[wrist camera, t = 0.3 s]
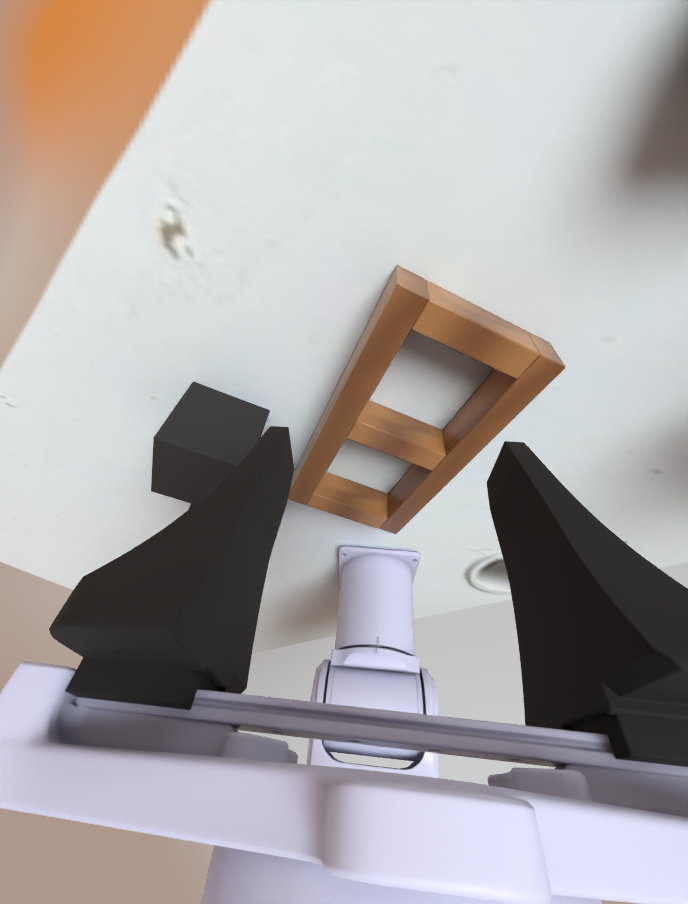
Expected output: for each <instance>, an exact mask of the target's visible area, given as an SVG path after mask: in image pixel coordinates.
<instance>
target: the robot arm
mask: <svg viewBox="0 0 688 904" xmlns="http://www.w3.org/2000/svg"><path fill="white" fill-rule="evenodd" d="M293 471H294V465H293V458H292V450H291V443H290V436H289V428H288V427H274V426H271V427H270V428H268V429H267V431H266V432H265V433H264V434H263V436H262V437H261V438H260V439H259V440H258V442H257V443H256V444H255V445H254V446H253V448H252V449H251V450H250V451H249V452H248V453H247V454H246V456H245V457H244V458H243V459H242V460H241V461H240V462H239V463H238V464H237V465H236V467H235V468H234V469H233V470H232V471H231V472H230V473H229V474H228V475H227V476H226V477H225V478H224V479H223V480H222V481H221V482H220V483H219V484H218V485H217V486H216V487H215V488H214V489H213V490H211V491H210V492H209V493H208V494H207V495H206V496H205V497H204V498H203V499H201V500H200V501H199V502H198V503H197V504H195V505H194V506H193V507H192V508H191V509H189V510H188V511H187V512H186V513H184V514H183V515H182V516H180V517H179V518H178V519H176V520H175V521H174V522H172V523H171V524H170V525H168V526H167V527H166V528H164V529H163V530H161V531H160V532H158V533H157V534H155V535H154V536H152V537H151V538H149V539H148V540H146V541H145V542H143V543H142V544H140V545H138V546H137V547H135V548H134V549H132V550H130V551H129V552H127V553H125V554H124V555H122V556H120V557H118V558H117V559H115V560H113V561H111V562H109V563H108V564H106V565H104V566H102V567H100V568H99V569H97V570H95V571H93V572H91V573H89V574H87V575H86V576H84V577H83V578H82V579H81V580H80V582H79V583H78V585H77V586H76V587H75V589H74V590H73V592H72V593H71V595H70V597H69V598H68V600H67V601H66V603H65V604H64V606H63V607H62V609H61V611H60V612H59V614H58V615H57V617H56V618H55V620H54V622H53V623H52V625H51V627H50V628H49V630H50V633H51V635H52V637H53V638H54V639H56V640H57V641H58V642H60V643H61V644H63V645H65V646H66V647H68V648H69V649H71V650H73V651H74V652H76V653H78V654H79V655H81V656H82V657H84V658H83V659H82V661H81V663H80V665H79V667H78V669H77V670H76V669H74V668H70V667H65V666H60V665H51V664H41V663H32V662H23V663H20V664H19V665H18V667H17V668H16V670H15V671H14V673H13V675H12V676H11V678H10V679H9V680H8V682H7V683H6V685H5V686H4V688H3V689H2V691H1V692H0V808H3V809H9V810H15V811H21V812H27V813H33V814H39V815H45V816H51V817H57V818H62V819H68V820H73V821H79V822H85V823H90V824H96V825H102V826H108V827H113V828H119V829H125V830H130V831H136V832H142V833H148V834H153V835H159V836H165V837H171V838H176V839H182V840H188V841H194V842H199V843H205V844H211V845H214V849H213V853H212V857H211V861H210V865H209V870H208V874H207V878H206V883H205V887H204V891H203V895H202V900H201V904H602V902H601V900H609V901H620V902H630V903H640V904H688V589H687V588H686V587H684V586H683V585H681V584H680V583H678V582H677V581H675V580H674V579H672V578H671V577H669V576H668V575H667V574H665V573H664V572H663V571H661V570H660V569H658V568H657V567H656V566H654V565H653V564H652V563H650V562H649V561H648V560H646V559H645V558H644V557H642V556H641V555H640V554H638V553H637V552H636V551H634V550H633V549H632V548H631V547H629V546H628V545H627V544H626V543H624V542H623V541H622V540H621V539H620V538H619V537H617V536H616V535H615V534H614V533H613V532H611V531H610V530H609V529H608V528H607V527H605V526H604V525H603V524H602V523H601V522H600V521H599V520H598V519H597V518H596V517H594V516H593V515H592V514H591V513H590V512H589V511H588V510H587V509H586V508H585V507H584V506H583V505H582V504H581V503H580V502H579V501H578V500H577V499H576V498H575V497H574V496H573V495H572V494H571V493H570V492H569V491H568V490H567V489H566V488H565V487H564V486H563V485H562V484H561V483H560V482H559V480H558V479H557V478H556V477H555V476H554V475H553V474H552V473H551V472H550V471H549V470H548V468H547V467H546V466H545V465H544V464H543V463H542V462H541V461H540V460H539V458H538V457H537V456H536V455H535V454H534V453H533V452H532V451H531V450H530V448H529V447H528V446H527V445H526V444H525V443H522V442H507V441H505V442H504V444H503V447H502V449H501V451H500V454H499V456H498V458H497V460H496V463H495V465H494V467H493V470H492V472H491V474H490V476H489V479H488V481H487V488H488V497H489V504H490V511H491V514H492V518H493V522H494V526H495V529H496V533H497V537H498V540H499V544H500V548H501V551H502V555H503V558H504V562H505V566H506V569H507V573H508V578H509V582H510V588H511V594H512V600H513V606H514V613H515V620H516V628H517V635H518V643H519V651H520V661H521V670H522V683H523V694H524V707H525V725H526V726H524V725H515V724H506V723H497V722H488V721H479V720H470V719H461V718H452V717H443V716H439V712H438V701H437V693H436V687H435V683H434V679H433V678H432V676H431V675H430V674H429V673H428V670H427V669H425V668H419V657H417V656H415V639H414V617H413V596H412V583H413V580H414V577H415V573H416V570H417V566H418V563H419V560H420V554H419V553H418V552H410V551H398V550H385V549H373V548H360V547H348V546H341V547H340V548H339V589H340V601H339V612H338V622H337V632H336V642H335V649H333V650H332V653H331V661H330V660H327V659H325V660H323V662H322V663H321V664H320V665H319V666H318V667H317V669H316V673H315V677H314V682H313V689H312V695H311V702H308V701H299V700H290V699H281V698H272V697H263V696H254V695H245V694H241V693H242V692H243V691H244V690H245V689H246V687H247V681H248V674H249V667H250V661H251V655H252V648H253V642H254V636H255V631H256V625H257V619H258V613H259V608H260V603H261V598H262V592H263V587H264V582H265V578H266V573H267V568H268V563H269V559H270V555H271V552H272V548H273V545H274V542H275V539H276V535H277V532H278V529H279V526H280V523H281V520H282V516H283V513H284V510H285V507H286V504H287V500H288V497H289V493H290V488H291V483H292V477H293ZM237 730H244V731H252V732H260V733H269V734H278V735H286V736H294V737H303V738H309V745H308V755H307V765H305V764H297V759H298V755H297V754H296V752H293V751H291V750H289V749H288V744H287V742H285V741H281V740H276V739H271V738H266V737H261V736H257V735H252V734H247V733H239V732H238V731H237ZM330 752H338V753H346V754H355V755H365V756H373V757H382V758H390V759H399V760H408V761H414V762H413V763H412V764H411V765H410V766H409V767H406V768H401V769H396V768H387V767H378V766H370V765H361V764H353V763H344V762H341V761H339V760H337V759H335V758H334V757H333V756H332V754H331V753H330ZM438 753H440V754H448V755H456V756H465V757H474V758H482V759H490V760H499V761H507V762H516V763H525V764H534V765H542V766H550V767H556V768H555V769H539V768H538V769H537V768H512V770H511V772H507V773H504V774H497V775H490V776H489V777H488V784H489V785H482V784H476V783H469V782H462V781H454V780H448V779H440V778H439V771H438Z"/></svg>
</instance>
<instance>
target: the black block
mask: <svg viewBox="0 0 688 904" xmlns="http://www.w3.org/2000/svg"><path fill="white" fill-rule="evenodd" d="M268 414H269V410H267V409H264V408H262V407H259V406H256V405H254V404H251V403H248V402H246V401H243V400H240V399H238V398H235V397H233V396H230V395H227V394H225V393H222V392H219V391H217V390H214V389H211V388H209V387H206V386H203V385H201V384H198V383H195V382H193V383H192V384H191V385H190V387H189V388H188V390H187V391H186V393H185V394H184V395H183V397H182V398H181V400H180V401H179V402H178V404H177V405H176V407H175V408H174V410H173V411H172V412H171V414H170V415H169V417H168V418H167V420H166V421H165V422H164V424H163V425H162V427H161V428H160V430H159V431H158V432H157V434H156V435H155V437H154V443H153V464H152V485H151V491H153V492H156V493H159V494H162V495H166V496H169V497H172V498H176V499H179V500H182V501H185V502H189V503H192V504H197V503H198V502H199V501H200V500H201V499H203V498H204V497H205V496H206V495H207V494H208V493H209V492H210V491H211V490H213V489H214V488H215V487H216V486H217V485H218V484H219V483H220V482H221V481H222V480H223V479H224V478H225V477H226V476H227V475H228V474H229V473H230V472H231V471H232V470H233V469H234V468H235V467H236V465H237V464H238V463H239V462H240V461H241V460H242V459H243V458H244V457H245V456H246V454H247V453H248V452H249V451H250V450H251V449H252V448H253V446H254V445H255V444H256V443H257V442H258V440H259V439H260V437H261V434H262V431H263V428H264V425H265V423H266V420H267V417H268Z"/></svg>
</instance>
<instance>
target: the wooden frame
mask: <svg viewBox="0 0 688 904" xmlns="http://www.w3.org/2000/svg"><path fill="white" fill-rule="evenodd" d="M411 329H412V330H413V331H415V332H418V333H420V334H422V335H424V336H426V337H428V338H430V339H432V340H435V341H437V342H439V343H441V344H443V345H445V346H447V347H450V348H452V349H454V350H456V351H458V352H460V353H462V354H464V355H467V356H469V357H471V358H473V359H475V360H477V361H479V362H482V363H484V364H486V365H488V366H490V367H492V368H494V369H495V370H494V371H493V372H492V373H491V374H490V375H489V377H488V378H487V379H486V380H485V381H484V383H483V384H482V385H481V386H480V387H479V388H478V390H477V391H476V392H475V393H474V394H473V395H472V397H471V398H470V399H469V400H468V401H467V402H466V404H465V405H464V406H463V407H462V408H461V409H460V411H459V412H458V413H457V414H456V415H455V417H454V418H453V419H452V420H451V421H450V422H449V424H448V425H447V426H446V427H445V428H444V429H443V431H442V430H440V429H438V428H436V427H433V426H431V425H428V424H426V423H423V422H421V421H418V420H416V419H414V418H411V417H409V416H406V415H404V414H401V413H399V412H396V411H394V410H392V409H389V408H387V407H384V406H382V405H379V404H377V403H374V402H372V401H369V399H370V397H371V395H372V394H373V392H374V390H375V389H376V387H377V385H378V384H379V382H380V380H381V379H382V377H383V375H384V374H385V372H386V370H387V369H388V367H389V365H390V363H391V362H392V360H393V358H394V357H395V355H396V353H397V352H398V350H399V348H400V347H401V345H402V343H403V342H404V340H405V338H406V337H407V335H408V333H409V332H410V330H411ZM564 369H565V365H564V363H563V362H562V360H561V359H560V357H559V356H558V354H557V353H556V351H555V350H554V348H553V347H552V345H551V344H550V343H549V342H547V341H545V340H543V339H541V338H539V337H537V336H535V335H533V334H531V333H529V332H526V331H525V330H523V329H521V328H520V327H518V326H516V325H514V324H512V323H510V322H508V321H506V320H504V319H502V318H500V317H498V316H496V315H494V314H492V313H490V312H488V311H486V310H484V309H482V308H480V307H478V306H476V305H474V304H472V303H470V302H468V301H466V300H464V299H462V298H460V297H458V296H456V295H454V294H453V293H451V292H449V291H447V290H445V289H443V288H441V287H439V286H437V285H435V284H433V283H431V282H429V281H427V280H425V279H423V278H421V277H419V276H417V275H416V274H414V273H412V272H410V271H408V270H406V269H404V268H402V267H400V266H398V265H397V266H396V267H395V269H394V271H393V273H392V275H391V277H390V279H389V281H388V283H387V285H386V287H385V289H384V291H383V293H382V295H381V297H380V299H379V301H378V303H377V305H376V307H375V309H374V311H373V313H372V315H371V317H370V319H369V322H368V324H367V326H366V328H365V330H364V332H363V334H362V336H361V338H360V340H359V342H358V344H357V346H356V348H355V350H354V352H353V354H352V356H351V358H350V360H349V362H348V364H347V366H346V368H345V370H344V372H343V374H342V376H341V378H340V380H339V382H338V384H337V386H336V388H335V390H334V392H333V394H332V396H331V398H330V400H329V402H328V404H327V406H326V408H325V410H324V412H323V414H322V416H321V418H320V420H319V422H318V424H317V426H316V428H315V430H314V432H313V434H312V437H311V439H310V441H309V443H308V445H307V447H306V449H305V451H304V453H303V455H302V457H301V459H300V461H299V463H298V465H297V467H296V469H295V471H294V473H293V477H292V483H291V488H290V493H289V497H288V499H289V500H292V501H295V502H298V503H301V504H304V505H307V506H310V507H313V508H316V509H319V510H323V511H326V512H329V513H332V514H335V515H338V516H341V517H344V518H347V519H350V520H353V521H356V522H359V523H363V524H366V525H369V526H372V527H375V528H379V529H382V530H385V531H388V532H391V533H394V534H397V533H398V532H399V531H400V530H401V529H402V528H403V527H404V526H405V525H406V524H407V523H408V522H409V521H410V520H411V519H412V518H413V517H414V516H415V515H416V514H417V513H418V512H419V511H420V510H421V509H422V508H423V507H424V506H425V505H426V504H427V503H428V502H429V501H430V500H431V499H432V498H433V497H434V496H435V495H436V494H437V493H438V492H439V491H440V490H441V489H442V488H443V487H444V486H446V485H447V484H448V483H449V482H450V481H451V480H452V479H453V478H454V477H455V476H456V475H457V474H458V473H459V472H460V471H461V470H462V469H463V468H464V467H465V466H466V465H467V464H468V463H469V462H470V461H471V460H472V459H473V458H474V457H475V456H476V455H477V454H478V453H479V452H480V451H481V450H482V449H483V448H484V447H485V446H486V445H487V444H488V443H489V442H490V441H491V440H492V439H493V438H494V437H495V436H496V435H497V434H498V433H499V432H500V431H502V430H503V429H504V428H505V427H506V426H507V425H508V424H509V423H510V422H511V421H512V420H513V419H514V418H515V417H516V416H517V415H518V414H519V413H520V412H521V411H522V410H523V409H524V408H525V407H526V406H527V405H528V404H529V403H530V402H531V401H532V400H533V399H534V398H535V397H536V396H537V395H538V394H539V393H540V392H541V391H542V390H543V389H544V388H545V387H546V386H547V385H548V384H549V383H550V382H551V381H552V380H553V379H554V378H555V377H557V376H558V375H559V374H560V373H561V372H562V371H563V370H564ZM346 437H347V439H350V440H353V441H355V442H358V443H361V444H363V445H366V446H368V447H371V448H374V449H376V450H379V451H382V452H384V453H387V454H390V455H392V456H395V457H398V458H400V459H403V460H406V461H408V462H411V463H414V465H413V466H412V467H411V468H410V469H409V470H408V472H407V473H406V474H405V475H404V476H403V477H402V479H401V480H400V481H399V482H398V483H397V484H396V486H395V487H394V488H393V489H392V490H391V491H390V493H389V494H387V493H384V492H381V491H378V490H375V489H372V488H370V487H367V486H364V485H361V484H358V483H355V482H353V481H350V480H347V479H344V478H341V477H338V476H335V475H333V474H330V473H327V472H326V471H327V469H328V467H329V466H330V464H331V462H332V461H333V459H334V457H335V456H336V454H337V452H338V451H339V449H340V447H341V446H342V444H343V442H344V441H345V439H346Z"/></svg>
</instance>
